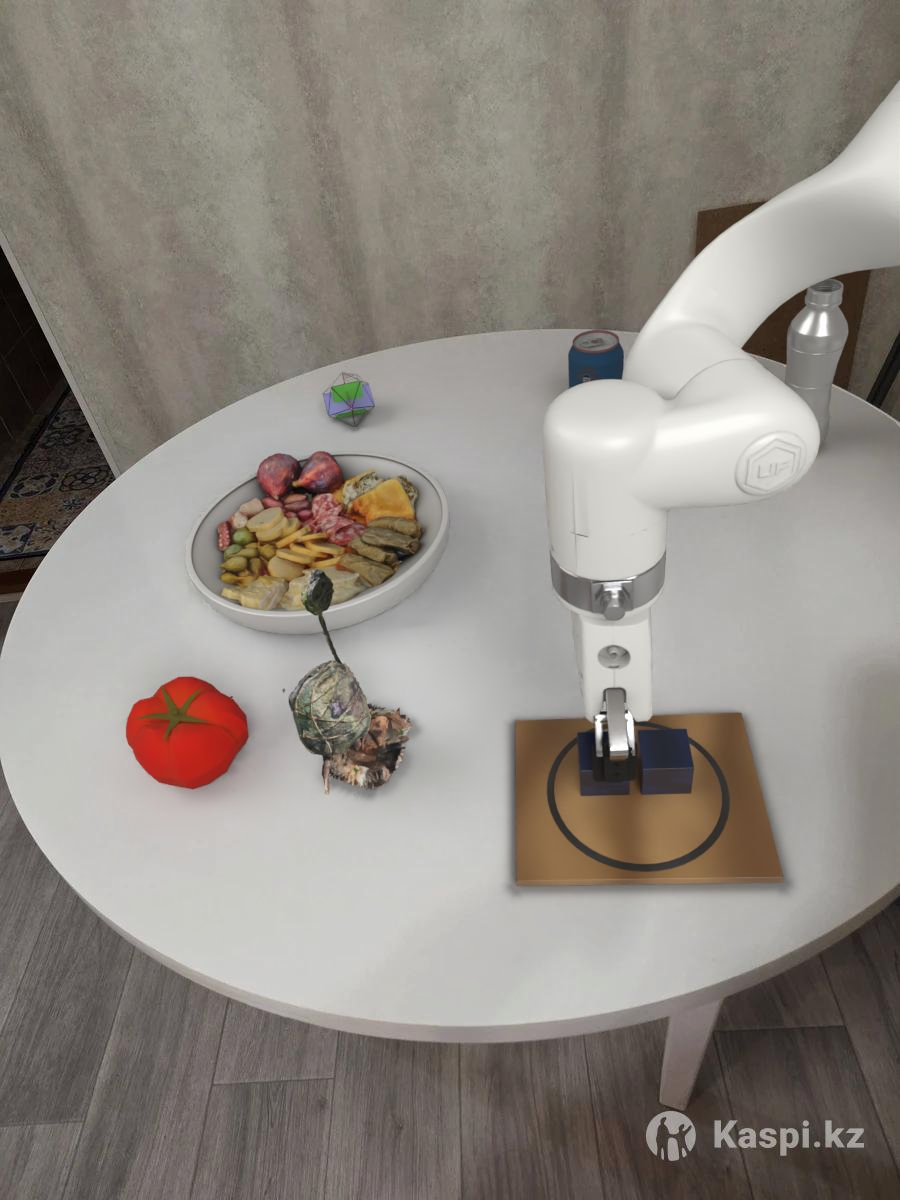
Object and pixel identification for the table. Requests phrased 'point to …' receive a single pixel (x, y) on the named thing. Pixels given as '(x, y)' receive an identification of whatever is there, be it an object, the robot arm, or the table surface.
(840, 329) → the plastic bottle
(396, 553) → the bowl
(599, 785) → the dark blue block
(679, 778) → the dark blue cube
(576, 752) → the board
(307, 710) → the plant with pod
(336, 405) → the geometric puzzle
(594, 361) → the soda can
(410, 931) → the table surface
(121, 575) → the table surface
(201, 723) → the tomato
